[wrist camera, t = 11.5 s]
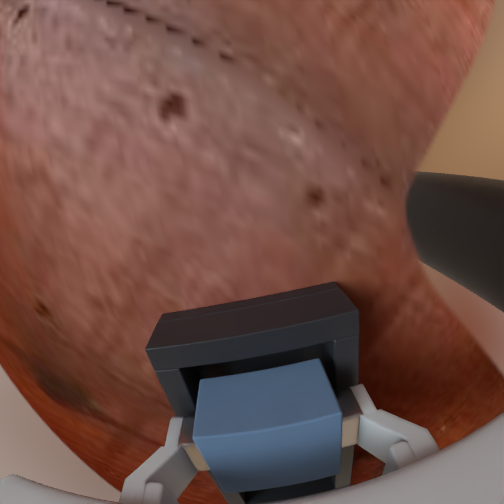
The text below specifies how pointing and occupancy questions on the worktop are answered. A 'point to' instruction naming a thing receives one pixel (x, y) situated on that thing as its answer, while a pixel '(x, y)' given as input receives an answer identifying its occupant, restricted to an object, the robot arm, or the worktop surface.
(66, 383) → the worktop surface
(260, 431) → the pad blue
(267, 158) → the worktop surface
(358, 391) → the robot arm
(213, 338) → the backing frame
